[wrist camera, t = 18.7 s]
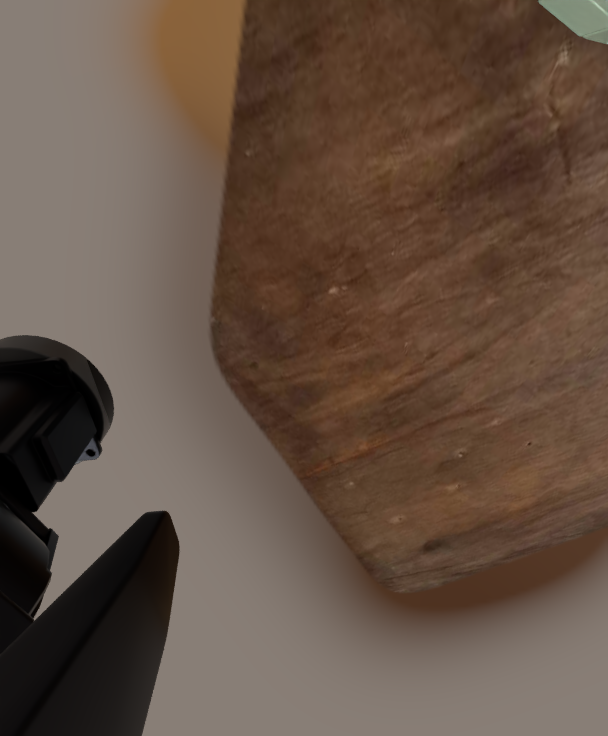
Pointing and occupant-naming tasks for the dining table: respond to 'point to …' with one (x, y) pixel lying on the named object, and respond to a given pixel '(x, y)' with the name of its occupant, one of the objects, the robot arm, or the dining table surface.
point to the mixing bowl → (582, 17)
